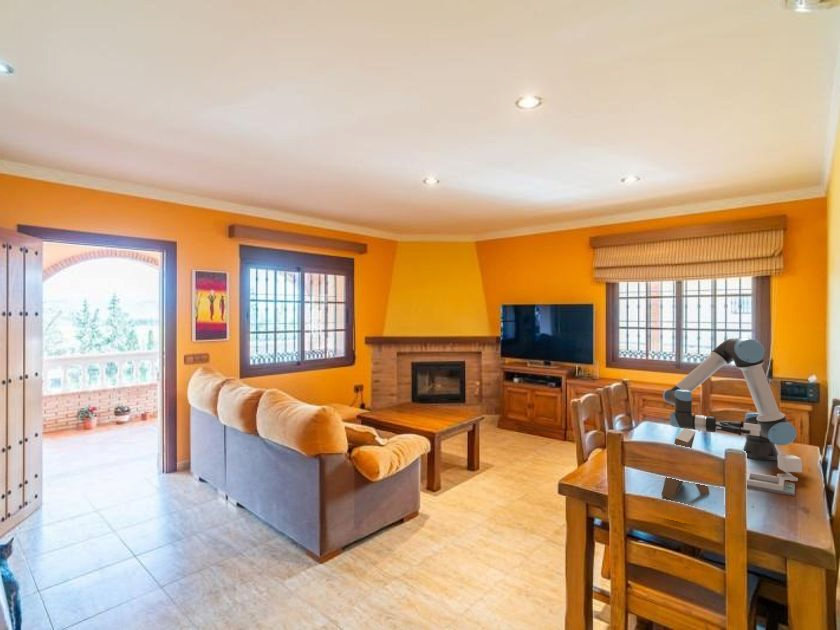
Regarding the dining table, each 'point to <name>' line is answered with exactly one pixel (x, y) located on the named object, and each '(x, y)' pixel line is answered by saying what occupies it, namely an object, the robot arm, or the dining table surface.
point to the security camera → (789, 466)
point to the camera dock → (770, 483)
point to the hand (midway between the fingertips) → (760, 430)
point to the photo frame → (674, 485)
